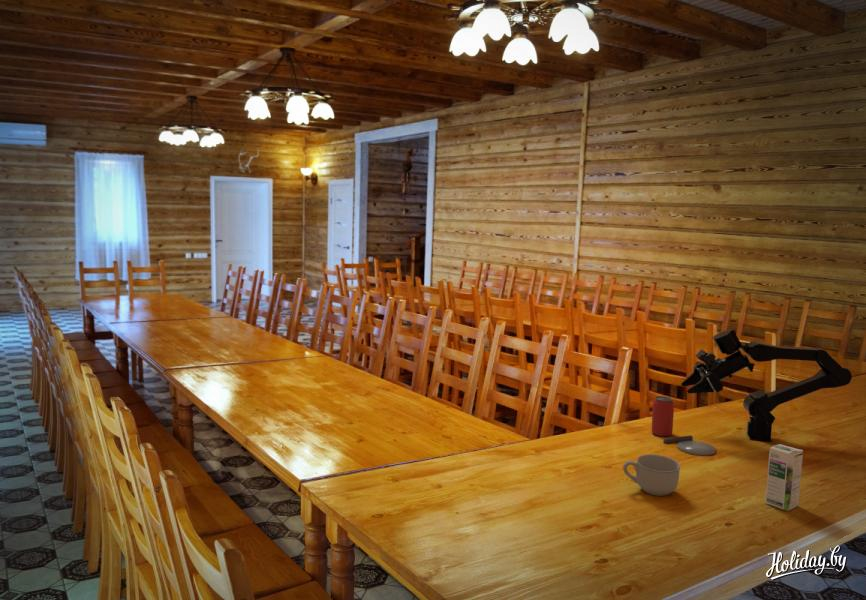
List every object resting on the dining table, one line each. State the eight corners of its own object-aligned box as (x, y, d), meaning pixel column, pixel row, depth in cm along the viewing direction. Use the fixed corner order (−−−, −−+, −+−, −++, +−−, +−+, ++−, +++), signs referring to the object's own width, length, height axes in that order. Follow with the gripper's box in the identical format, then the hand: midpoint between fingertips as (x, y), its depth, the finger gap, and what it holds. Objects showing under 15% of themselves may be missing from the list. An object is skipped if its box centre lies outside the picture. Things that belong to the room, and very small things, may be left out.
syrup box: (764, 503, 165) (768, 447, 163) (776, 498, 168) (780, 442, 167) (787, 512, 160) (792, 454, 158) (799, 506, 164) (804, 449, 162)
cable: (689, 439, 214) (689, 434, 213) (692, 441, 212) (692, 436, 212) (662, 443, 210) (662, 438, 210) (665, 444, 208) (665, 439, 208)
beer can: (673, 437, 214) (675, 401, 213) (652, 436, 216) (654, 400, 214) (670, 431, 221) (672, 396, 219) (650, 430, 222) (652, 395, 221)
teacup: (678, 486, 175) (679, 457, 174) (679, 502, 165) (680, 471, 164) (623, 479, 180) (624, 450, 179) (621, 494, 169) (622, 464, 168)
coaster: (714, 445, 207) (714, 443, 207) (717, 457, 197) (717, 454, 197) (676, 441, 211) (676, 439, 211) (677, 452, 200) (677, 450, 200)
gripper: (709, 339, 223) (666, 361, 226) (723, 349, 205) (677, 373, 208) (725, 367, 223) (683, 389, 227) (742, 380, 205) (695, 404, 208)
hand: (684, 388), depth 217 cm, fingers open, 9 cm apart
